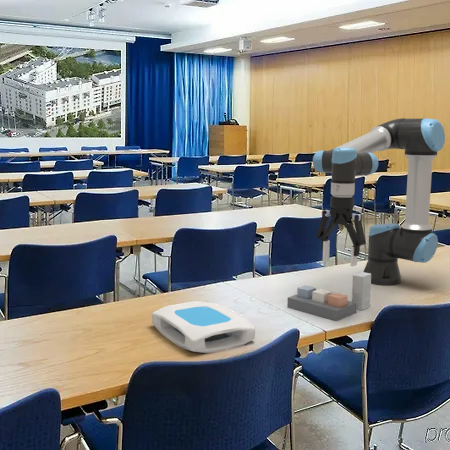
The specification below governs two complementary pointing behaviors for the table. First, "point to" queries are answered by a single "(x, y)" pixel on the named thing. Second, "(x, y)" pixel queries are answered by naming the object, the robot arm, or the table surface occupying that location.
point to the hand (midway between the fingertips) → (339, 262)
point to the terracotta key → (337, 300)
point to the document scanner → (203, 326)
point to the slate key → (305, 292)
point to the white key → (320, 295)
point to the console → (321, 308)
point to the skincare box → (361, 290)
